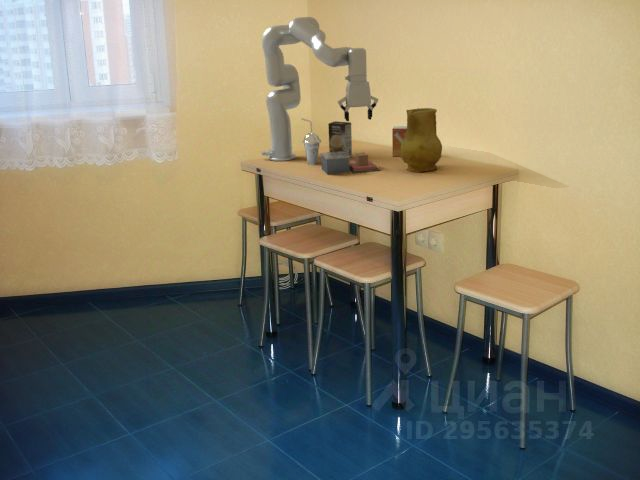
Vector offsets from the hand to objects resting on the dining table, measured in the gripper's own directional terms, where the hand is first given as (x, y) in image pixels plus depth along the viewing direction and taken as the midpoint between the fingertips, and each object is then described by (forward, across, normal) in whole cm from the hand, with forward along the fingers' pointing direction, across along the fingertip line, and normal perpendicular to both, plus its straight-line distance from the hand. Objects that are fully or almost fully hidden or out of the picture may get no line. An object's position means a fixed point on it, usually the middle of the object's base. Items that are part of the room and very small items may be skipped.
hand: (358, 120), depth 309 cm
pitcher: (+20, +24, -13) cm, 34 cm away
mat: (+21, +1, -2) cm, 21 cm away
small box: (+21, +25, +18) cm, 37 cm away
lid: (+20, +1, -1) cm, 20 cm away
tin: (+21, -11, -2) cm, 23 cm away
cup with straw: (+21, -17, +18) cm, 32 cm away
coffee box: (+21, -2, +26) cm, 33 cm away
